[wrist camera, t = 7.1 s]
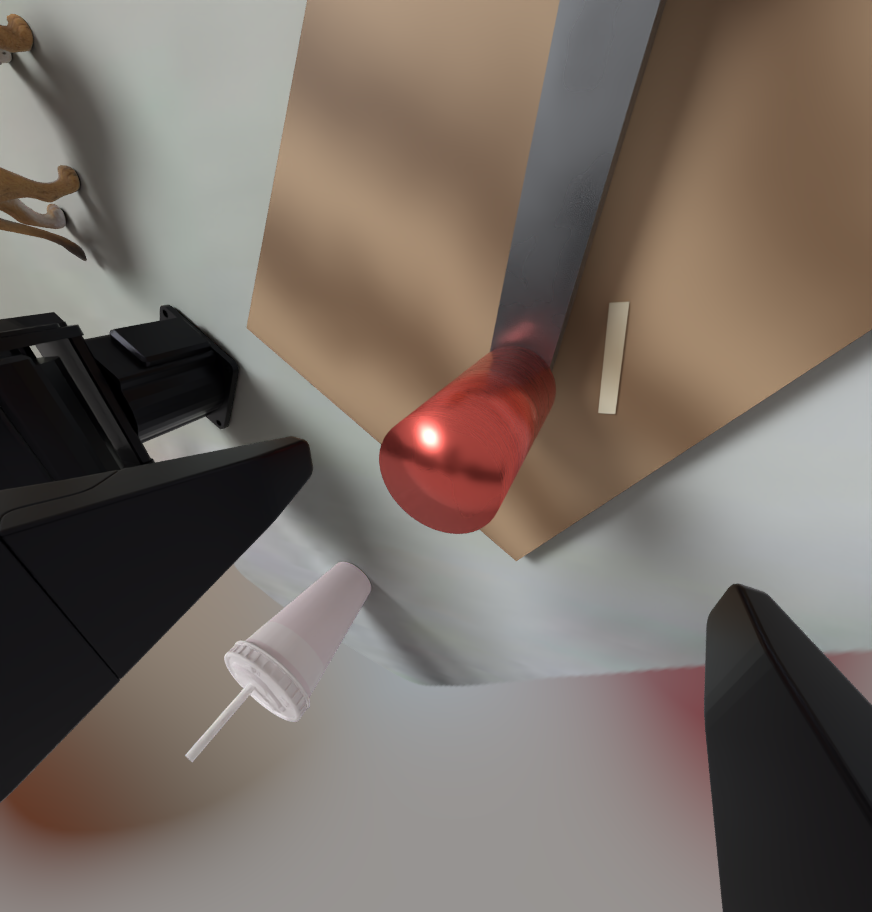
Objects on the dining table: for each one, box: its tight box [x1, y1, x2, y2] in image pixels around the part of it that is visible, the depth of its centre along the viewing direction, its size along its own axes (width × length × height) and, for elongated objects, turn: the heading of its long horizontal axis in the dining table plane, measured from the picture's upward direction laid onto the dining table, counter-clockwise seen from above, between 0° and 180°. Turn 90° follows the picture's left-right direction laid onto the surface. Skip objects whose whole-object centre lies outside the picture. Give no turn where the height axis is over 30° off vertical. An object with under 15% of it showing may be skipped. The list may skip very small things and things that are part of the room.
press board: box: [247, 0, 872, 561], centre depth 12 cm, size 23×20×4 cm
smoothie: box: [185, 562, 371, 762], centre depth 25 cm, size 6×6×14 cm
